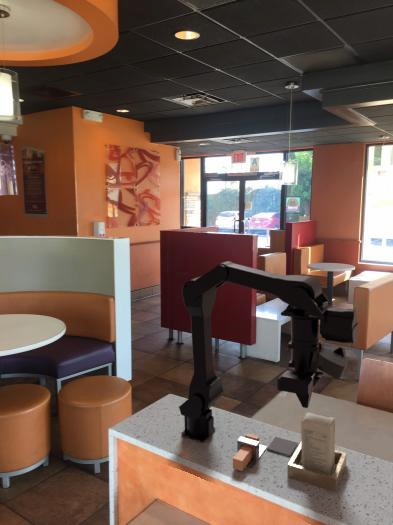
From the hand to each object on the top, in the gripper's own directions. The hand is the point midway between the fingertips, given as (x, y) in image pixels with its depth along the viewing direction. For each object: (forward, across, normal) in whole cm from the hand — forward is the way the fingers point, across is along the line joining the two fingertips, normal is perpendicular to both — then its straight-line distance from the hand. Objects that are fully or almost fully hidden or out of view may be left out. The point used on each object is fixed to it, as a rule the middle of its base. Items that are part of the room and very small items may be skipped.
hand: (305, 407), depth 95 cm
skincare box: (+14, -1, -3) cm, 14 cm away
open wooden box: (+14, -1, -3) cm, 14 cm away
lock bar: (+13, -4, +12) cm, 19 cm away
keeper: (+13, -2, +12) cm, 18 cm away
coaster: (+14, +4, +7) cm, 16 cm away
